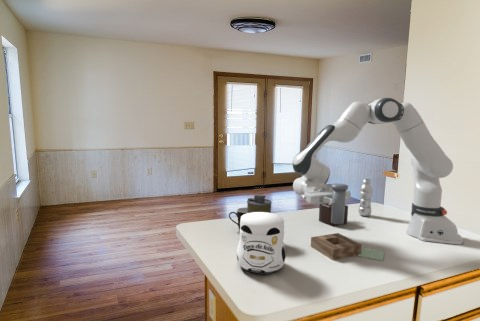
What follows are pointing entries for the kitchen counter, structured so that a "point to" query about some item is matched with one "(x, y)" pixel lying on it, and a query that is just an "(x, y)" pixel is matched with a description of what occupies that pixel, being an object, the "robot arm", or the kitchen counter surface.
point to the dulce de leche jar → (261, 242)
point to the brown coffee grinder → (329, 214)
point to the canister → (258, 204)
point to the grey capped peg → (338, 203)
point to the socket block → (335, 246)
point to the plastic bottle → (365, 198)
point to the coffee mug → (239, 215)
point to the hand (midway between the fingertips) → (340, 200)
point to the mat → (372, 254)
